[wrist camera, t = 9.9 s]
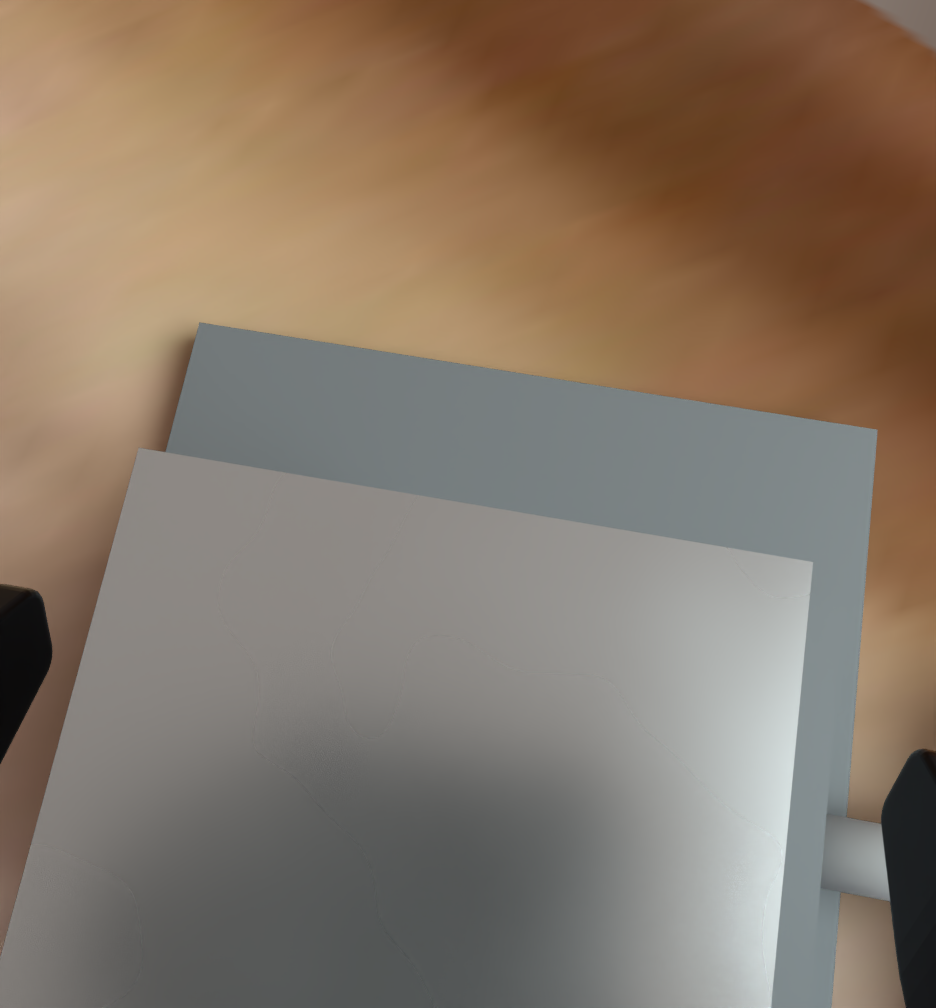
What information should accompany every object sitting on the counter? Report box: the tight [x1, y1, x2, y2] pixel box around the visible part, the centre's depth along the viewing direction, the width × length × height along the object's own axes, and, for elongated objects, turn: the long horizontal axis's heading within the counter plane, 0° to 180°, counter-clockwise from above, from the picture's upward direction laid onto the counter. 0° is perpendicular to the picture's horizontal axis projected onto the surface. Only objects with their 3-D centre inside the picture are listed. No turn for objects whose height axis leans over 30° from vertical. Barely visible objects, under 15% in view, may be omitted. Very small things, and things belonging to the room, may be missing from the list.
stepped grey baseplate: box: [166, 323, 890, 1008], centre depth 16 cm, size 16×18×3 cm
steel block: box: [0, 448, 813, 1008], centre depth 10 cm, size 5×4×12 cm
